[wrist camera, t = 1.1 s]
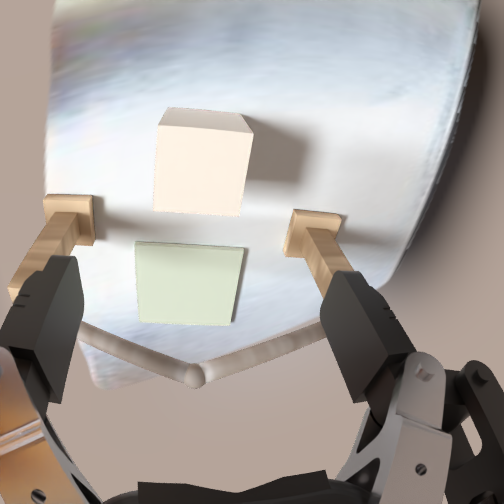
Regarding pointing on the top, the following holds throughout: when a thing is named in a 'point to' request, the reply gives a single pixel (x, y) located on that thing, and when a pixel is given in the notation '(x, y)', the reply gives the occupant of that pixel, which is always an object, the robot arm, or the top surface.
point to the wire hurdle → (192, 375)
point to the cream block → (201, 162)
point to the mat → (186, 283)
